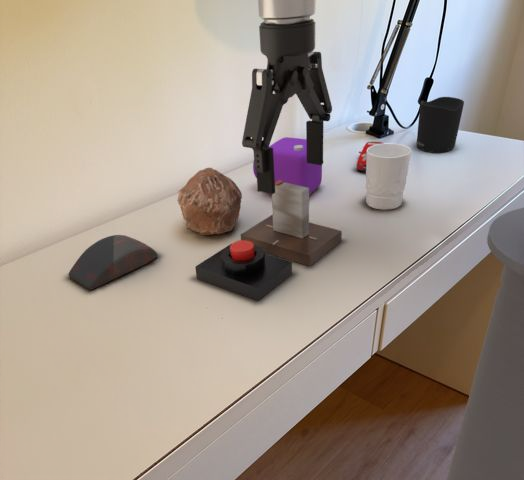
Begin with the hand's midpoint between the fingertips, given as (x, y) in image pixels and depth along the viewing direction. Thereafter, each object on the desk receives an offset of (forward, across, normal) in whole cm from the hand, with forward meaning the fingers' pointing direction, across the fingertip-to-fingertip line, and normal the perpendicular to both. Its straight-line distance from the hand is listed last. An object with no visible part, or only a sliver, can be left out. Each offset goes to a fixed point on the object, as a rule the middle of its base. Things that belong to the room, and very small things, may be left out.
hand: (291, 177), depth 83 cm
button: (+8, +13, 0) cm, 15 cm away
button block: (+12, +13, 0) cm, 18 cm away
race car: (+12, -41, -6) cm, 43 cm away
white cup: (+12, -23, +6) cm, 26 cm away
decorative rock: (+12, +2, -16) cm, 20 cm away
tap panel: (+12, 0, 0) cm, 12 cm away
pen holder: (+12, -58, +2) cm, 59 cm away
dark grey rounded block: (+11, +22, -20) cm, 32 cm away
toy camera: (+12, -19, -14) cm, 26 cm away
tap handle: (+9, 0, 0) cm, 9 cm away
